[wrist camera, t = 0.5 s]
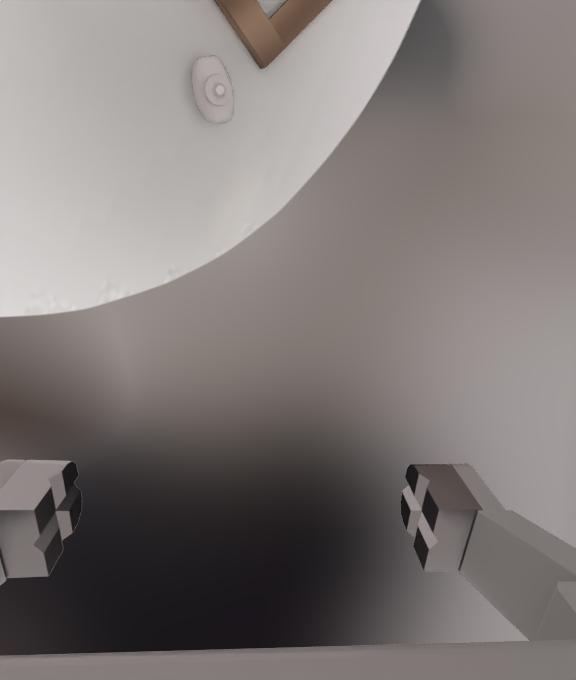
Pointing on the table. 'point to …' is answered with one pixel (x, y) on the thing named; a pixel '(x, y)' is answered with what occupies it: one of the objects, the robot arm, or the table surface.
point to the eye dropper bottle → (213, 89)
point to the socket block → (269, 24)
